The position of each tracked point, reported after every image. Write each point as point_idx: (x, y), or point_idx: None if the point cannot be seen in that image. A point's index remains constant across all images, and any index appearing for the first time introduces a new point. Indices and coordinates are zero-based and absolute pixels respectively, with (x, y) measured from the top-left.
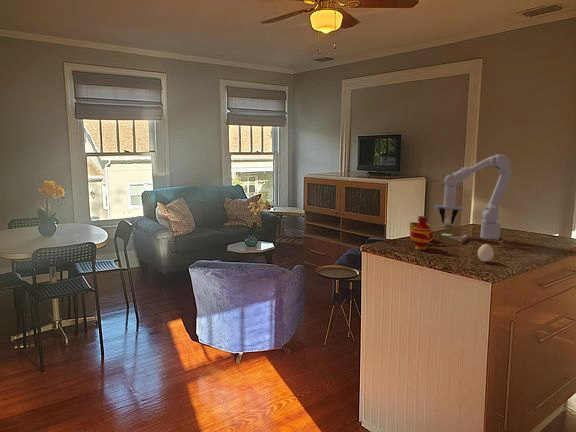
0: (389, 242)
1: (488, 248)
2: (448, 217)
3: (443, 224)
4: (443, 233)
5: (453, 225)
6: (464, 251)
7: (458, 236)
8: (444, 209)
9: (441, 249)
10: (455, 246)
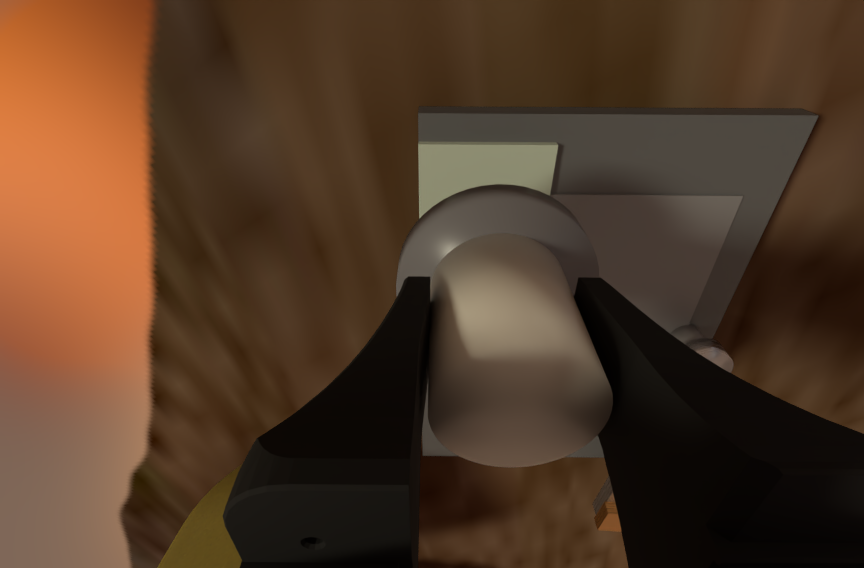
0: (170, 545)
1: None
2: (528, 462)
3: (423, 272)
4: (427, 143)
5: (598, 274)
6: (615, 550)
7: (629, 219)
8: (403, 564)
9: (487, 559)
10: (569, 488)
